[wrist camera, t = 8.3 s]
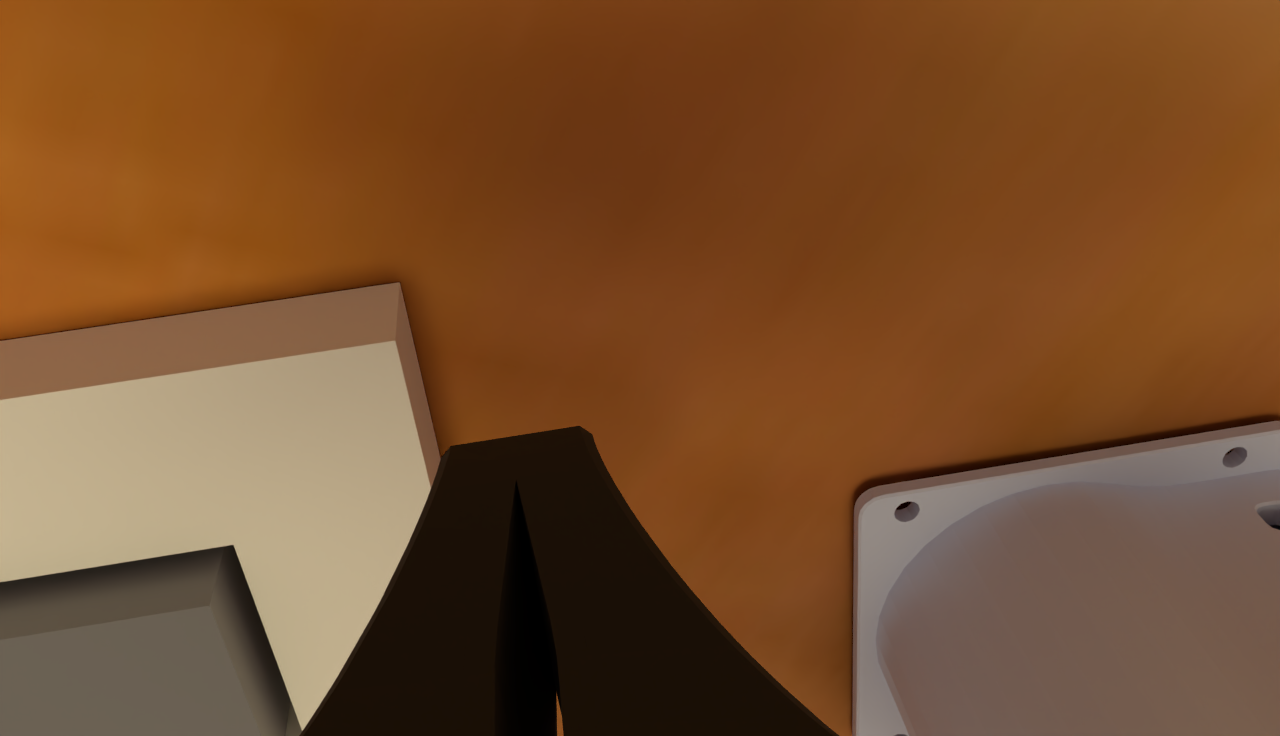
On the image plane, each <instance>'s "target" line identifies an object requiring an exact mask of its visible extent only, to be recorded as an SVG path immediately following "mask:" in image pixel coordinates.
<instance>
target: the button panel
mask: <svg viewBox="0 0 1280 736" xmlns="http://www.w3.org/2000/svg"><path fill="white" fill-rule="evenodd" d="M440 460H441V458H440V454H439V450H438V445H437V441H436V437H435V432H434V428H433V424H432V419H431V415H430V411H429V406H428V402H427V398H426V394H425V389H424V385H423V381H422V376H421V372H420V368H419V363H418V359H417V355H416V350H415V346H414V342H413V337H412V333H411V329H410V324H409V320H408V316H407V311H406V307H405V303H404V299H403V294H402V290H401V286H400V282H398V283H391V284H384V285H377V286H371V287H364V288H357V289H350V290H343V291H337V292H330V293H323V294H316V295H310V296H303V297H296V298H289V299H282V300H276V301H269V302H262V303H255V304H248V305H242V306H235V307H228V308H221V309H215V310H208V311H201V312H194V313H187V314H181V315H174V316H167V317H160V318H153V319H147V320H140V321H133V322H126V323H119V324H113V325H106V326H99V327H92V328H86V329H79V330H72V331H65V332H58V333H52V334H45V335H38V336H31V337H24V338H18V339H11V340H4V341H0V582H5V581H11V580H18V579H24V578H30V577H36V576H42V575H49V574H55V573H61V572H67V571H73V570H80V569H86V568H92V567H98V566H104V565H111V564H117V563H123V562H129V561H135V560H142V559H148V558H154V557H160V556H167V555H173V554H179V553H185V552H191V551H198V550H204V549H210V548H216V547H222V546H229V545H234V548H235V550H236V553H237V556H238V559H239V561H240V564H241V567H242V569H243V572H244V575H245V578H246V580H247V583H248V586H249V588H250V591H251V594H252V596H253V599H254V602H255V605H256V607H257V610H258V613H259V615H260V618H261V621H262V624H263V626H264V629H265V632H266V634H267V637H268V640H269V642H270V645H271V648H272V651H273V653H274V656H275V659H276V661H277V664H278V667H279V669H280V672H281V675H282V678H283V680H284V683H285V686H286V688H287V691H288V694H289V697H290V699H291V700H290V707H289V714H288V720H287V727H286V734H285V736H299V735H300V734H301V732H302V731H303V729H304V728H305V726H306V725H307V723H308V722H309V720H310V719H311V717H312V716H313V714H314V713H315V711H316V710H317V708H318V707H319V705H320V704H321V702H322V700H323V699H324V697H325V696H326V694H327V693H328V691H329V689H330V688H331V686H332V685H333V683H334V681H335V680H336V678H337V677H338V675H339V673H340V671H341V670H342V668H343V666H344V664H345V663H346V661H347V659H348V657H349V656H350V654H351V652H352V650H353V649H354V647H355V645H356V643H357V642H358V640H359V638H360V636H361V635H362V633H363V631H364V629H365V628H366V626H367V624H368V622H369V621H370V619H371V617H372V615H373V614H374V612H375V610H376V608H377V606H378V604H379V602H380V600H381V598H382V596H383V594H384V592H385V590H386V588H387V586H388V584H389V582H390V580H391V578H392V576H393V574H394V572H395V570H396V568H397V566H398V564H399V562H400V559H401V557H402V555H403V553H404V551H405V549H406V547H407V545H408V543H409V541H410V538H411V536H412V534H413V531H414V529H415V527H416V524H417V522H418V520H419V517H420V515H421V513H422V510H423V508H424V505H425V503H426V500H427V498H428V495H429V493H430V490H431V487H432V484H433V481H434V479H435V476H436V473H437V470H438V466H439V463H440Z"/></svg>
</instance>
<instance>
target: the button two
mask: <svg viewBox="0 0 1280 736" xmlns="http://www.w3.org/2000/svg"><path fill="white" fill-rule="evenodd" d="M290 700H291V699H290V697H289V694H288V691H287V688H286V686H285V683H284V680H283V678H282V675H281V672H280V669H279V667H278V664H277V661H276V659H275V656H274V653H273V651H272V648H271V645H270V642H269V640H268V637H267V634H266V632H265V629H264V626H263V624H262V621H261V618H260V615H259V613H258V610H257V607H256V605H255V602H254V599H253V596H252V594H251V591H250V588H249V586H248V583H247V580H246V578H245V575H244V572H243V569H242V567H241V564H240V561H239V559H238V556H237V553H236V550H235V548H234V545H229V546H222V547H216V548H210V549H204V550H198V551H191V552H185V553H179V554H173V555H167V556H160V557H154V558H148V559H142V560H135V561H129V562H123V563H117V564H111V565H104V566H98V567H92V568H86V569H80V570H73V571H67V572H61V573H55V574H49V575H42V576H36V577H30V578H24V579H18V580H11V581H5V582H0V736H285V734H286V727H287V720H288V714H289V707H290Z"/></svg>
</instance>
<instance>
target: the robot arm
mask: <svg viewBox="0 0 1280 736" xmlns="http://www.w3.org/2000/svg"><path fill="white" fill-rule="evenodd" d="M1233 448H1234V450H1233V451H1231V452H1230V453H1229V454H1227V455H1225V454H1226V453H1227V452H1228V451H1230V450H1231V449H1233ZM907 501H909V502H912V503H911V504H910V505H909V506H908V507H906V508H904V509H901V510H896V508H897V507H898V506H899V505H900V504H902V503H905V502H907ZM556 691H557V696H558V700H559V705H560V710H561V714H562V721H563V732H564V736H839V735H838V734H836V733H835V732H834V731H832V730H831V729H830V728H829V727H828V726H826V725H825V724H824V723H823V722H822V721H821V720H820V719H818V718H817V717H816V716H815V715H814V714H813V713H812V712H811V711H809V710H808V709H807V708H806V707H805V706H804V705H803V704H802V703H801V702H799V701H798V700H797V699H796V698H795V697H794V696H793V695H792V694H790V693H789V692H788V691H787V690H786V689H785V688H784V687H783V686H782V685H781V684H780V683H779V682H778V681H776V680H775V679H774V678H773V677H772V676H771V675H770V674H769V673H768V672H767V671H766V670H765V669H764V668H763V667H762V666H761V665H760V664H759V663H758V662H757V661H756V660H755V659H754V658H753V657H752V656H751V655H750V654H749V653H748V652H747V651H746V650H745V649H744V648H743V647H742V646H741V645H740V644H739V643H738V642H737V641H736V640H735V639H734V638H733V637H732V636H731V634H730V633H729V632H728V631H727V630H726V629H725V628H724V627H723V626H722V625H721V624H720V623H719V621H718V620H717V619H716V618H715V617H714V616H713V615H712V613H711V612H710V611H709V610H708V609H707V608H706V607H705V605H704V604H703V603H702V602H701V601H700V600H699V598H698V597H697V596H696V595H695V594H694V593H693V592H692V590H691V589H690V588H689V587H688V586H687V584H686V583H685V582H684V581H683V579H682V578H681V577H680V576H679V574H678V573H677V572H676V571H675V569H674V568H673V567H672V566H671V564H670V563H669V562H668V560H667V559H666V558H665V556H664V555H663V554H662V552H661V551H660V550H659V548H658V547H657V546H656V544H655V543H654V541H653V540H652V539H651V537H650V536H649V535H648V533H647V532H646V531H645V529H644V528H643V527H642V525H641V524H640V522H639V521H638V519H637V518H636V516H635V515H634V513H633V512H632V510H631V509H630V507H629V506H628V504H627V503H626V501H625V499H624V498H623V496H622V494H621V493H620V491H619V490H618V488H617V486H616V485H615V483H614V481H613V480H612V478H611V476H610V474H609V472H608V471H607V469H606V467H605V465H604V463H603V461H602V459H601V456H600V454H599V452H598V450H597V447H596V445H595V442H594V439H593V435H592V434H591V433H589V432H588V431H586V430H585V429H583V428H582V427H580V426H576V427H569V428H563V429H556V430H550V431H544V432H537V433H531V434H525V435H518V436H512V437H506V438H499V439H493V440H487V441H480V442H474V443H467V444H461V445H455V446H451V447H450V448H449V449H448V450H447V451H446V453H445V454H444V455H443V456H442V457H441V460H440V463H439V466H438V470H437V473H436V476H435V479H434V481H433V484H432V487H431V490H430V493H429V495H428V498H427V500H426V503H425V505H424V508H423V510H422V513H421V515H420V517H419V520H418V522H417V524H416V527H415V529H414V531H413V534H412V536H411V538H410V541H409V543H408V545H407V547H406V549H405V551H404V553H403V555H402V557H401V559H400V562H399V564H398V566H397V568H396V570H395V572H394V574H393V576H392V578H391V580H390V582H389V584H388V586H387V588H386V590H385V592H384V594H383V596H382V598H381V600H380V602H379V604H378V606H377V608H376V610H375V612H374V614H373V615H372V617H371V619H370V621H369V622H368V624H367V626H366V628H365V629H364V631H363V633H362V635H361V636H360V638H359V640H358V642H357V643H356V645H355V647H354V649H353V650H352V652H351V654H350V656H349V657H348V659H347V661H346V663H345V664H344V666H343V668H342V670H341V671H340V673H339V675H338V677H337V678H336V680H335V681H334V683H333V685H332V686H331V688H330V689H329V691H328V693H327V694H326V696H325V697H324V699H323V700H322V702H321V704H320V705H319V707H318V708H317V710H316V711H315V713H314V714H313V716H312V717H311V719H310V720H309V722H308V723H307V725H306V726H305V728H304V729H303V731H302V732H301V734H300V735H299V736H557V704H556ZM852 736H1280V421H1271V422H1265V423H1259V424H1253V425H1247V426H1241V427H1235V428H1229V429H1223V430H1216V431H1210V432H1204V433H1198V434H1192V435H1186V436H1180V437H1174V438H1168V439H1161V440H1155V441H1149V442H1143V443H1137V444H1131V445H1125V446H1119V447H1113V448H1107V449H1100V450H1094V451H1088V452H1082V453H1076V454H1070V455H1064V456H1058V457H1052V458H1045V459H1039V460H1033V461H1027V462H1021V463H1015V464H1009V465H1003V466H997V467H990V468H984V469H978V470H972V471H966V472H960V473H954V474H948V475H942V476H936V477H929V478H923V479H917V480H911V481H905V482H899V483H893V484H887V485H881V486H876V487H873V488H870V489H868V490H867V491H865V492H864V493H862V494H861V495H860V497H859V498H858V499H857V501H856V503H855V507H854V580H853V714H852Z"/></svg>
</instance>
